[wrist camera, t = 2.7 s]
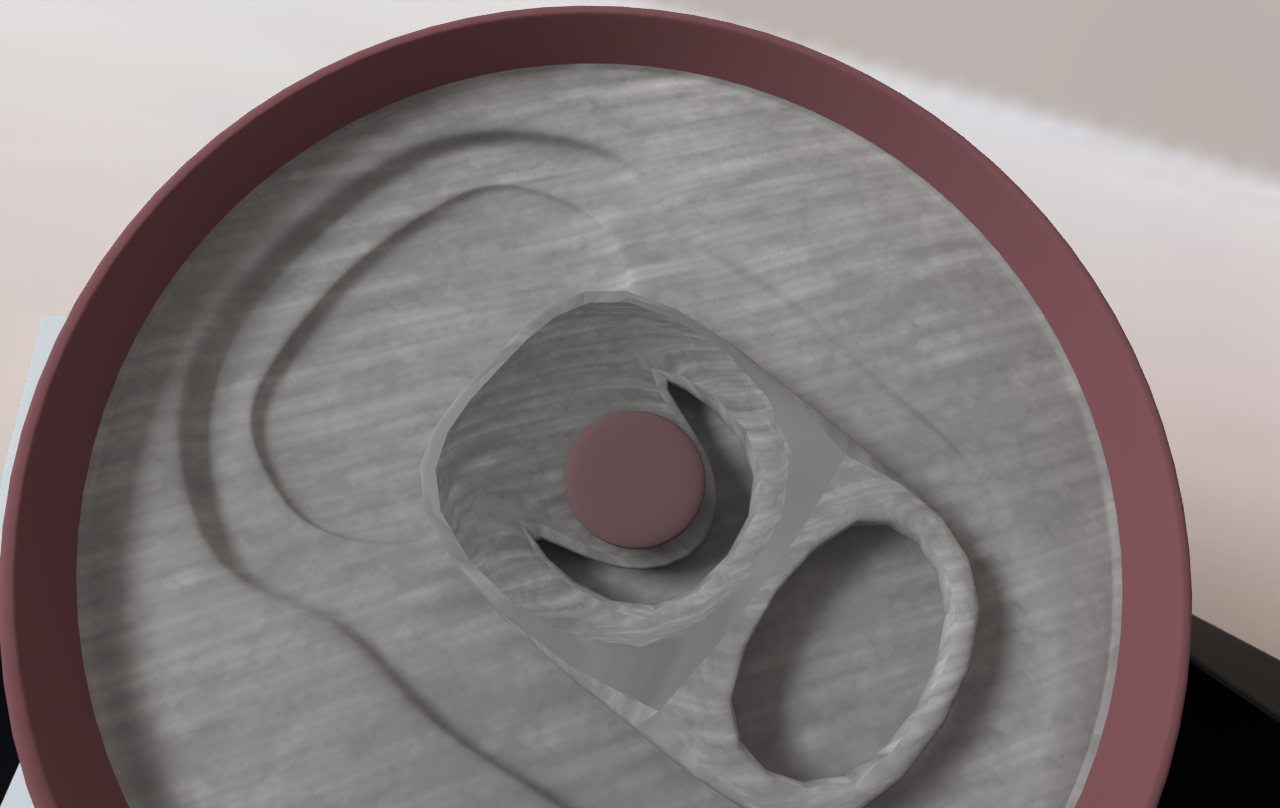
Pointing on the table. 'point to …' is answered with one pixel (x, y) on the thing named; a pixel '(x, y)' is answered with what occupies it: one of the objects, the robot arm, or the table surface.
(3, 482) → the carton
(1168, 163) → the table surface
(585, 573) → the soda can
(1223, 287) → the table surface
